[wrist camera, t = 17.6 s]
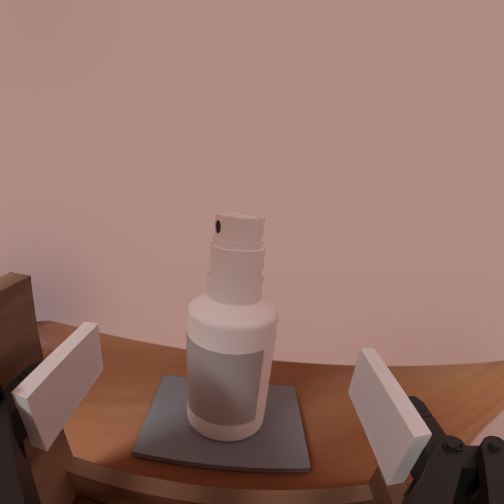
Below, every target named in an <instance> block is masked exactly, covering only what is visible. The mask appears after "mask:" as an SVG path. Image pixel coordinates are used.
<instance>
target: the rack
mask: <svg viewBox="0 0 504 504" xmlns="http://www.w3.org/2000/svg"><path fill="white" fill-rule="evenodd" d="M37 361H38V362H41V363H42V362H43V361H44V359H43V354H42V349H41V344H40V339H39V334H38V328H37V322H36V316H35V309H34V302H33V294H32V285H31V276H29V275H23V274H18V273H12V272H10V273H8V274H6V275H4V276H2V277H0V383H1V386H2V389H3V390H4V389H5V388H6V387H7V386H8V385H9V384H10V383H11V382H12V381H13V380H14V379H15V378H17V376H18V375H19V374H20V373H22V371H23V370H24V369H25V368H27V367H28V366H29V365H31V364H33V363H35V362H37ZM24 443H25V446H26V449H27V454H28V458H29V462H30V466H31V470H32V474H33V478H34V481H35V485H36V488H37V492H38V495H39V498H40V501H41V504H72V503H73V501H74V498H75V496H76V494H79V495H81V496H84V497H87V498H90V499H93V500H97V501H100V502H103V503H106V504H401V503H402V501H403V499H404V496H403V494H404V493H405V491H406V490H407V489H408V484H407V482H406V480H405V482H403V483H398V484H393V485H388V486H387V484H386V482H385V479H384V477H383V474H382V472H381V469H380V467H379V466H378V467H377V469H376V471H375V473H374V474H373V476H372V478H371V480H370V482H369V483H368V484H364V485H356V486H347V487H337V488H324V489H306V490H252V489H234V488H222V487H211V486H202V485H194V484H187V483H180V482H174V481H168V480H163V479H157V478H152V477H147V476H142V475H138V474H134V473H129V472H125V471H121V470H117V469H113V468H110V467H106V466H103V465H99V464H96V463H92V462H89V461H86V460H83V459H80V458H77V457H74V456H73V455H72V452H71V449H70V447H69V444H68V441H67V439H66V436H65V433H64V430H63V429H62V430H61V432H60V433H59V434H58V436H57V437H56V439H55V440H54V442H53V443H52V445H51V446H50V448H49V449H48V451H44V450H42V449H39V448H37V447H34V446H32V444H31V442H30V440H29V437H28V436H27V437H26V438H25V440H24Z"/></svg>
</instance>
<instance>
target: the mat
mask: <svg viewBox="0 0 504 504" xmlns="http://www.w3.org/2000/svg"><path fill="white" fill-rule="evenodd" d="M132 452H133V456H136V457H140V458H145V459H150V460H155V461H160V462H166V463H172V464H178V465H185V466H192V467H200V468H208V469H218V470H229V471H244V472H268V473H301V472H310V469H311V466H310V461H309V456H308V451H307V445H306V440H305V435H304V430H303V425H302V420H301V416H300V411H299V406H298V401H297V396H296V391H295V386H288V385H269V386H268V393H267V400H266V406H265V413H264V419H263V422H262V425H261V427H260V429H259V430H258V431H257V432H255V433H254V434H253V435H252V436H250V437H248V438H246V439H243V440H239V441H233V442H225V441H216V440H213V439H210V438H207V437H205V436H203V435H201V434H200V433H198V432H197V431H196V430H195V429H194V428H193V427H192V425H191V424H190V423H189V419H188V416H187V377H181V376H174V375H167V374H164V376H163V378H162V381H161V383H160V385H159V388H158V390H157V393H156V395H155V397H154V400H153V402H152V404H151V407H150V409H149V412H148V414H147V417H146V419H145V421H144V424H143V426H142V429H141V431H140V434H139V436H138V439H137V441H136V444H135V446H134V449H133V451H132Z"/></svg>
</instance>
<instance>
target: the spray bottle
mask: <svg viewBox="0 0 504 504" xmlns="http://www.w3.org/2000/svg"><path fill="white" fill-rule="evenodd" d="M264 222H265V218H259V217H252V216H251V215H249V214H246V213H235V212H220V213H217V214H216V223H215V236H214V237H213V243H212V244H211V248H210V264H209V272H208V278H207V292H205V293H203V294H201V295H199V296H197V297H196V298H194V299H193V300H192V301H191V302H190V304H189V306H188V309H187V416H188V419H189V423H190V424H191V425H192V427H193V428H194V429H195V430H196V431H197V432H198V433H200V434H201V435H203V436H205V437H207V438H210V439H213V440H216V441H225V442H233V441H239V440H243V439H246V438H248V437H250V436H252V435H253V434H254V433H255V432H257V431H258V430H259V429H260V427H261V425H262V422H263V419H264V413H265V406H266V400H267V393H268V386H269V379H270V373H271V366H272V358H273V351H274V344H275V337H276V329H277V322H278V314H277V310H276V308H275V307H274V306H273V305H272V304H271V303H270V302H269V301H268V300H266V299H265V298H263V297H262V287H263V286H262V285H263V265H264V256H265V247H263V244H264V241H263V233H264Z"/></svg>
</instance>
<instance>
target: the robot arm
mask: <svg viewBox="0 0 504 504" xmlns="http://www.w3.org/2000/svg"><path fill="white" fill-rule="evenodd" d="M103 370H104V368H103V361H102V354H101V346H100V337H99V328H98V324H96V323H91V322H84V323H83V324H82V325H81V326H80V327H79V328H78V329H77V330H75V331H74V332H73V333H72V334H71V335H70V336H69V337H68V338H67V339H66V340H65V341H64V342H63V343H62V344H60V345H59V346H58V347H57V348H56V349H55V350H54V351H53V352H52V353H51V354H50V355H49V356H48V357H47V358H46V359H45V360H44V361H43V362H42V363H41V362H38V361H37V362H35V363H33V364H31V365H29V366H28V367H27V368H25V369H24V370H23V371H22V373H20V374H19V375H18V376H17V378H15V379H14V380H13V381H12V382H11V383H10V384H9V385H8V386H7V387H6V388H5V389H4V390H3V389H2V386H1V383H0V504H41V501H40V498H39V495H38V492H37V488H36V485H35V481H34V478H33V474H32V470H31V466H30V462H29V458H28V454H27V449H26V446H25V443H24V440H25V438H26V437H27V436H28V437H29V440H30V442H31V444H32V446H34V447H37V448H39V449H42V450H44V451H48V449H49V448H50V446H51V445H52V443H53V442H54V440H55V439H56V437H57V436H58V434H59V433H60V432H61V430H62V429H63V427H64V426H65V424H66V423H67V421H68V420H69V418H70V417H71V415H72V414H73V412H74V411H75V410H76V408H77V407H78V405H79V404H80V402H81V401H82V400H83V398H84V397H85V395H86V394H87V392H88V391H89V390H90V388H91V387H92V385H93V384H94V383H95V381H96V380H97V378H98V377H99V376H100V374H101V373H102V371H103ZM348 394H349V396H350V398H351V401H352V403H353V405H354V408H355V410H356V412H357V415H358V417H359V419H360V422H361V424H362V426H363V429H364V431H365V433H366V436H367V438H368V440H369V443H370V445H371V448H372V450H373V452H374V455H375V457H376V460H377V462H378V464H379V467H380V469H381V472H382V474H383V477H384V479H385V482H386V484H387V486H388V485H393V484H398V483H403V482H405V480H406V479H407V477H408V475H409V474H410V473H411V476H412V478H413V481H412V483H411V484H410V486H409V487H408V489H407V490H406V491H405V493H404V494H403V496H404V499H403V501H402V503H401V504H452V502H453V504H504V441H503V440H502V439H500V438H499V437H495V436H488V437H486V438H484V439H483V441H482V442H481V444H480V446H465V444H464V443H463V441H461V440H460V439H459V438H457V437H455V436H450V435H446V434H445V433H444V431H443V430H442V428H441V427H440V426H439V424H438V423H437V421H436V420H435V418H434V417H432V414H431V413H430V411H428V408H427V407H426V406H425V404H424V403H423V402H422V401H421V400H419V399H418V398H417V397H415V396H409V397H407V395H406V394H405V392H404V391H403V389H402V388H401V386H400V385H399V383H398V382H397V380H396V379H395V377H394V376H393V375H392V373H391V372H390V370H389V369H388V367H387V366H386V364H385V363H384V361H383V360H382V359H381V357H380V356H379V354H378V353H377V351H376V350H375V349H374V348H360V350H359V354H358V357H357V361H356V365H355V369H354V372H353V376H352V380H351V383H350V387H349V390H348Z"/></svg>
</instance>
